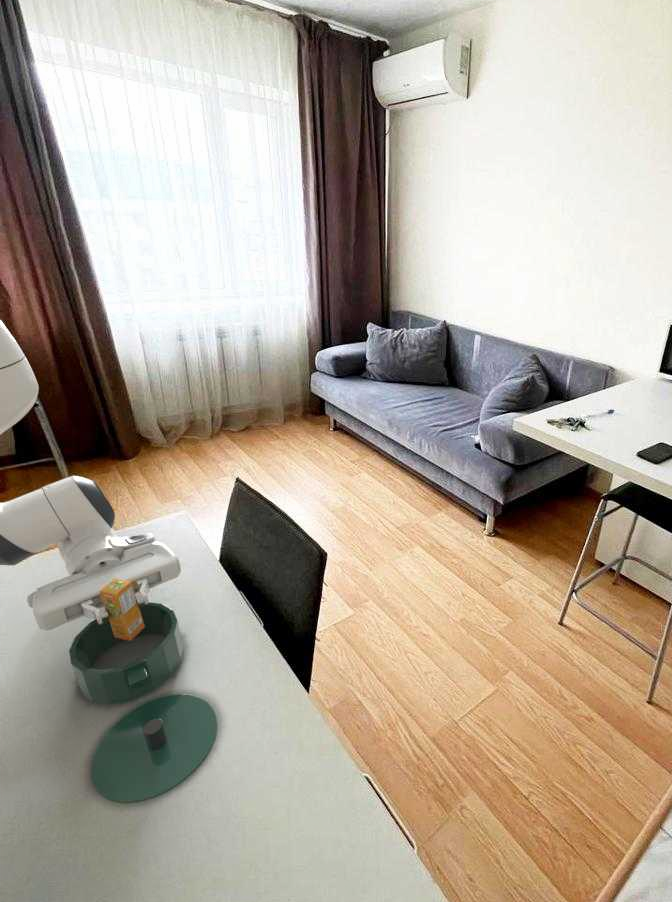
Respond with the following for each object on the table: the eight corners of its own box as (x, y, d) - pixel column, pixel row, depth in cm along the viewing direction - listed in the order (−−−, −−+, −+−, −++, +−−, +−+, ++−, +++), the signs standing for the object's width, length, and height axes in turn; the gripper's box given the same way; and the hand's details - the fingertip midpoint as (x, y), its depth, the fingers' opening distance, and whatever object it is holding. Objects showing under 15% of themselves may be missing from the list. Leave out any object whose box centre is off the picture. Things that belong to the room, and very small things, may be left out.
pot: (90, 739, 71) (77, 704, 68) (74, 650, 85) (63, 617, 82) (198, 686, 80) (191, 653, 77) (168, 613, 94) (161, 582, 90)
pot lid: (102, 834, 61) (93, 812, 59) (85, 737, 71) (77, 716, 70) (232, 757, 70) (228, 736, 68) (200, 681, 81) (196, 661, 79)
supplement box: (111, 638, 78) (97, 590, 74) (129, 623, 82) (116, 575, 77) (129, 643, 78) (115, 594, 74) (146, 627, 81) (134, 579, 77)
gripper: (18, 578, 77) (34, 629, 69) (160, 529, 91) (188, 566, 82) (30, 609, 80) (47, 661, 71) (167, 556, 93) (194, 595, 85)
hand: (124, 610), depth 77 cm, fingers closed on supplement box, 4 cm apart
